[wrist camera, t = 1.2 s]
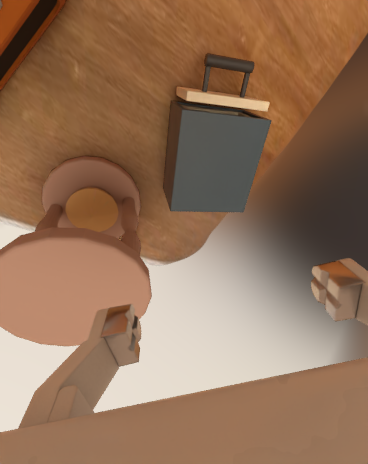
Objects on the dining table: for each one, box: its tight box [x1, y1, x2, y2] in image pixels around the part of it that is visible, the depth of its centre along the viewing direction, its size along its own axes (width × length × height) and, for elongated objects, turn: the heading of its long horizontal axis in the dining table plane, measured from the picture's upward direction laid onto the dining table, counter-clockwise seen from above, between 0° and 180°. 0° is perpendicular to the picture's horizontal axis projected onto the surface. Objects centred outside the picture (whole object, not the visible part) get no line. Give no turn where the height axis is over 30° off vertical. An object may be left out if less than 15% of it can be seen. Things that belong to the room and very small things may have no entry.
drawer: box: [176, 53, 270, 117], centre depth 39 cm, size 19×12×8 cm, turn 173°
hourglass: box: [0, 156, 152, 346], centre depth 37 cm, size 18×18×25 cm
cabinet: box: [163, 101, 271, 212], centre depth 42 cm, size 16×14×10 cm
